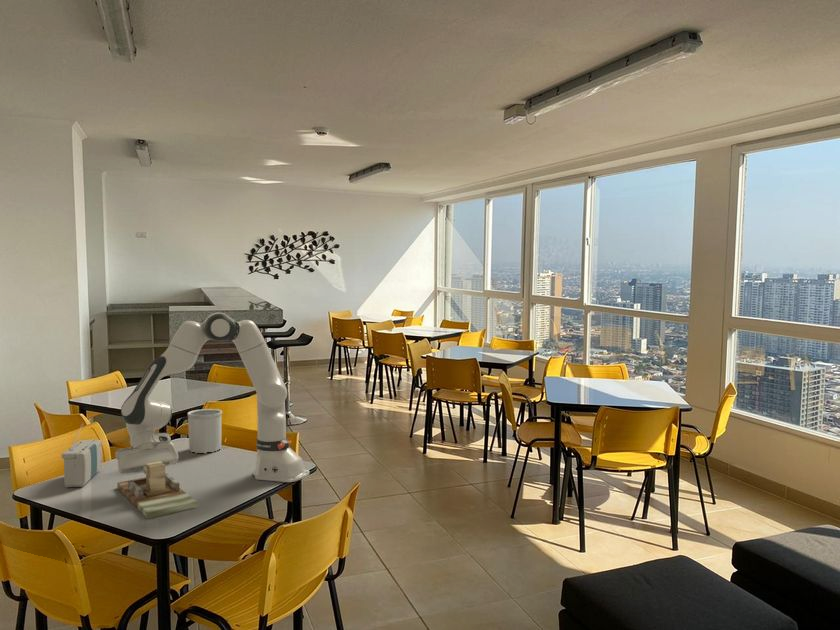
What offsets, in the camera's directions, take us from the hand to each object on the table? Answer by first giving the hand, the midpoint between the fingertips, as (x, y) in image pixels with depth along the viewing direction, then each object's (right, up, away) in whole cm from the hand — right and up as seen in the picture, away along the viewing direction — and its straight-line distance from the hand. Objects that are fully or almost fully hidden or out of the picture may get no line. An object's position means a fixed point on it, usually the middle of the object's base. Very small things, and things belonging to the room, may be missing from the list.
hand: (153, 477), depth 216 cm
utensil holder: (-2, -3, +59) cm, 59 cm away
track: (+2, -6, -2) cm, 7 cm away
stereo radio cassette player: (-34, -5, +16) cm, 38 cm away
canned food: (-14, -4, +38) cm, 40 cm away
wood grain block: (+2, -4, -2) cm, 5 cm away
